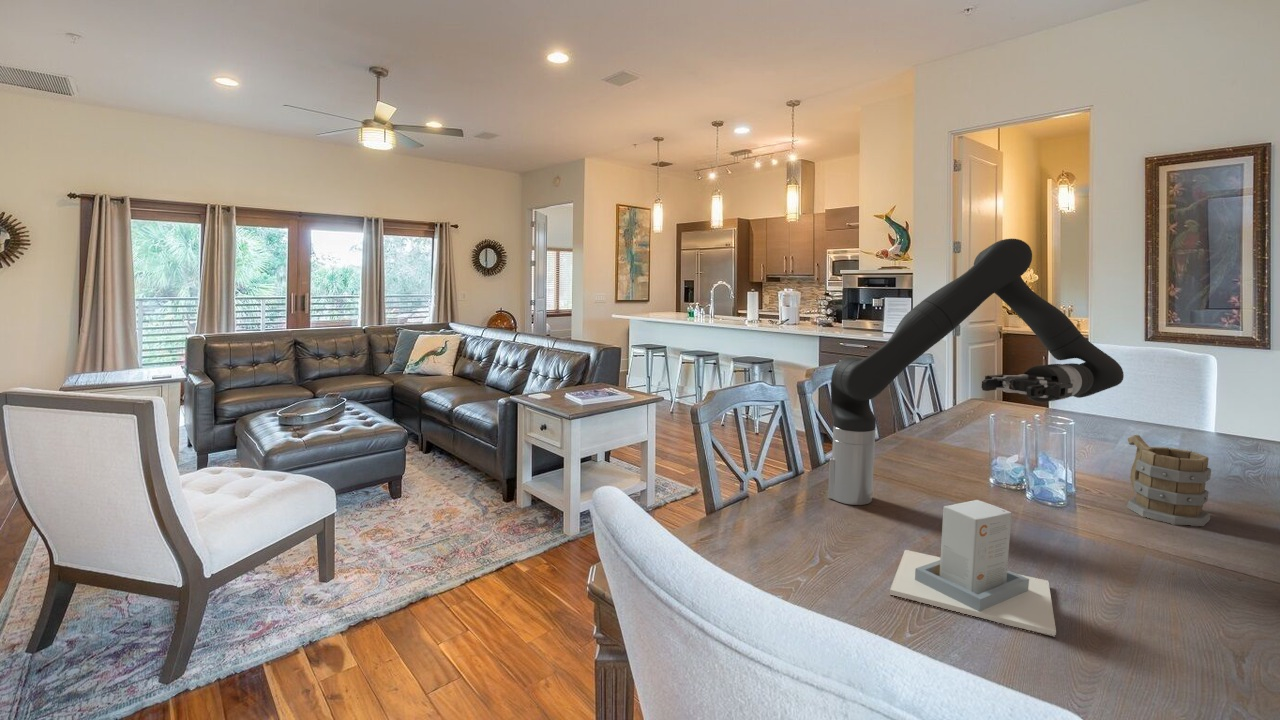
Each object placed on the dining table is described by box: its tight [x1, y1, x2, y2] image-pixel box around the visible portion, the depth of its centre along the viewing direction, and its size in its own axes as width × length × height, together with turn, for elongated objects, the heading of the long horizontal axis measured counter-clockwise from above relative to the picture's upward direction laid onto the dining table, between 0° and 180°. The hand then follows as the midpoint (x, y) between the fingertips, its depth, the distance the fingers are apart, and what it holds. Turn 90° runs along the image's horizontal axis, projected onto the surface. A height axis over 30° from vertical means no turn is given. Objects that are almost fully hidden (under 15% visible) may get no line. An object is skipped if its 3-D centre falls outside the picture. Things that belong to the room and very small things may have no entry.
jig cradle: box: [889, 549, 1057, 636], centre depth 96 cm, size 22×17×3 cm
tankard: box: [1126, 434, 1212, 527], centre depth 131 cm, size 20×13×15 cm, turn 170°
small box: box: [939, 499, 1013, 594], centre depth 95 cm, size 8×6×13 cm
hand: (1005, 388), depth 114 cm, fingers open, 8 cm apart
